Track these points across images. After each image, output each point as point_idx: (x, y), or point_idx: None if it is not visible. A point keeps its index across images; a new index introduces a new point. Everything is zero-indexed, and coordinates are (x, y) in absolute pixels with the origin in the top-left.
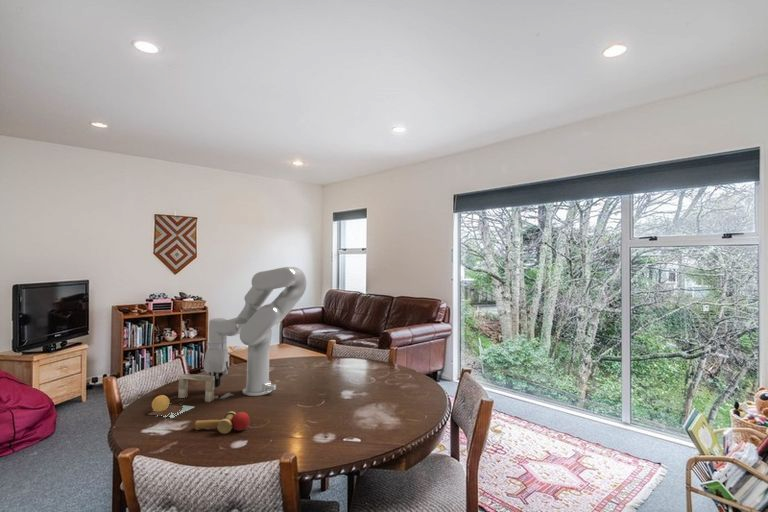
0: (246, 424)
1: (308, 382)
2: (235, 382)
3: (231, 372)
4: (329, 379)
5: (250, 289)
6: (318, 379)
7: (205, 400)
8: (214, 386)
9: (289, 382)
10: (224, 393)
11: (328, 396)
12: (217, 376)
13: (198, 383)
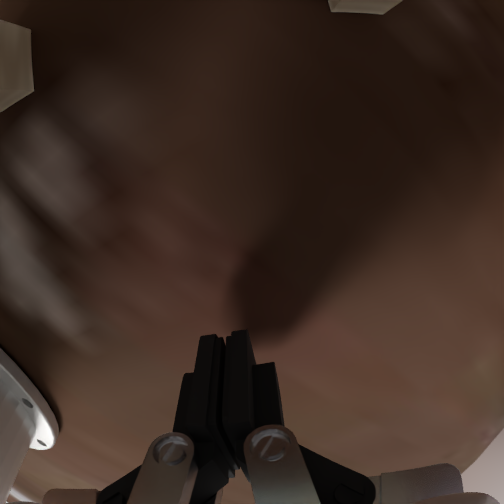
0: None
1: (23, 477)
2: None
3: None
4: (24, 490)
5: None
6: (38, 494)
7: (20, 30)
8: (218, 342)
9: (54, 483)
10: (71, 295)
11: None
12: (154, 465)
13: (484, 359)
